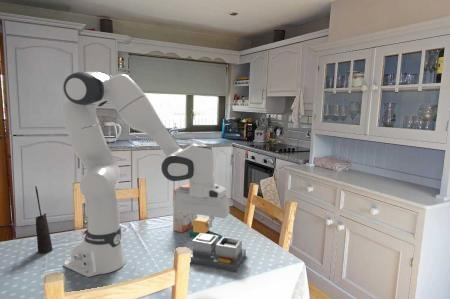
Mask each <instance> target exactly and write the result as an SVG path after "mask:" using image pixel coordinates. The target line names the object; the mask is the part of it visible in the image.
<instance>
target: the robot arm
mask: <svg viewBox="0 0 450 299" xmlns="http://www.w3.org/2000/svg"><path fill="white" fill-rule="evenodd" d="M62 86H63V87H62V88H63V93H64V96H65V98H67V99H66V100H65V101H63V103H62V105H61V115H62V119H63V124H64V127H65V130H66V133H67V136H68V138H69V141H70V143H71V146H72V149H73V151H74V154H75V155H76V156H77V157H78V159H79V160H80V161H81V162H82V164H83V165H84V166H83V167H84V168H85V171H86V172H84V173H83V175H82V177H81V179H80V182H79V190H80V193H81V195H82V196H83V199H84V204H85V208H86V213H87V214H86V215H87V228H86V230H84V231H82V234H81V235H82V236H83V235H84V238H83V239H82V240H81V241H79V242H78V243H77V244H75V245H74V246H73V247H72V249H71V252H70V257H68V258H66V260H65V261H64V263H63V266H64V267H65V268H67V269H70V270H72V271H74V272H76V273H78V274H80V275H83V276H84V277H87V278H89V277H93V276H96V275H97V276H98V275H103V274H104V275H105V274H109V273H111V272H114V271H115V272H116V271H118V270H119V269H121V268H122V267H123V266H124V265H125V263H126V259H125V257H124V256H125V255H124V253H123V248H122V242H121V240H122V229H121V228H122V227H121V226H120V207H119V205H118V200H117V193H116V192H117V191H116V189H117V188H116V187H117V185H118V184H119V182H120V180H121V175H122V174H121V169H120V167H119V165H118V163H117V162H116V159H115V157H114V155H113V153H112V152H111V150H110V148H109V146H108V144H107V143H108V142H107V141H106V139H105V135H104V132H103V130H102V127H101V124H100V121H99V119H98V116H97V108H98V107H102V106H104V105H105V104H107V103H110V105H112V106H113V108H114V109H115V111H116V112H117V113H118V115H119V116H120V118H121V119H122V120H123V121H124V123H125V124H127V125H128V126H129V127H130V128H131V129H132V130H135V131H138V132H141V133H144V134H146V135H147V136H149V137H150V138H151V139H152V140H153V141H154V143H155V144H156V145H157V146H158V147H159V148H160V150H161V151H162V153H163V154H164V155H165V158H164V159H163V161H162V163H161V165H160V166H161V172H162V175H163V176H164V178H166V179H167V180H168V181H171V182H179V181H185V180H188V184H189V187H181V186H179V187H176V188H177V189H176V188H175V189H176V201H175V209H176V211H177V212H184V213H189V218H190V219H191V221H192V225H193V221H194V220H195V218H194V214H197V216H198V215H199V216H204V217H208V218H209V219H210V221H208V222H207V223H206V225H207V226H206V227H209V228H210V229H211V228H212V227H213V222H214V219H216V218H221V219H225V218H227V217H228V216H229V215H230V200H229V198H228V196H227V195H226V194H228V190H227V188H226V187H224V186H223V185H219V184H217V183H215V179H214V171H215V157H214V151H213V149H212V148H211V147H210V146H209V145H208V144H204V143H200V142H199V143H198V142H197V143H196V142H194V143H191V144H190V145H189V146H187V147H185V148H184V147H183V146H181V145H180V144H179V143H178V142H177V141H176V139H175V138H174V136H173V135H172V133H171V132H170V131H169V130H168V129H167V127H166V126H165V125H164V124H163V122H162V120H161V118H160V116H159V115H158V114H157V112H156V110H155V107H154V106H153V105H152V103H151V101H150V100H149V98H148V97H147V95H146V94H145V93H144V91H143V90H142V89H141V87H140V86H139V85H138V84H137V83H136V82H135V80H133V79H132V78H131V77H130V76H129V75H127V74H124V73H120V74H116V75H113V76H112V75H111V74H108V73H106V72H102V71H97V70H96V71H93V70H89V71H78V72H73V73H71V74H70V75H68V76H67V77H66V78H65V80H64V82H63V85H62Z"/></svg>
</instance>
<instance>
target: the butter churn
mask: <svg viewBox="0 0 450 299" xmlns="http://www.w3.org/2000/svg"><path fill="white" fill-rule="evenodd" d="M34 188H35V194H36V199H37V204H38V212H39V215H38V216H35V234H36V239H37V240H36V242H37V253H38V252H39V253H38V254H47V253H50V252H51V251H53V249H54V248H53V243H52V238H51V233H50V228H49V223H48V218H47V213H46V212H45V213H44V214H42V209H41V204H40V199H39V198H40V197H39V192H38V191H39V190H38V188H37V185H35V186H34ZM50 250H51V251H50Z"/></svg>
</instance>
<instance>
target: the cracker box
mask: <svg viewBox="0 0 450 299" xmlns="http://www.w3.org/2000/svg"><path fill="white" fill-rule="evenodd" d="M180 187H189V183H186V184H184V185H182V186H180ZM177 188H178V187H176V188H175V189H173V195H172V196H173V198H172V200H173V205H172V206H173V207H172V208H173V210H172V211H173V215H172V219H173V220H172V225H173V227H172V228H173V229H172V231H174V232H178V233H185V231H187V230H189V229H190V228H193V225H192V221H191V219H190V218H189V213H184V212H177V211H176V209H175V201H176V189H177ZM194 218H195V219H197V218H198V214H194Z"/></svg>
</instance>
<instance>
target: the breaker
mask: <svg viewBox="0 0 450 299" xmlns="http://www.w3.org/2000/svg"><path fill="white" fill-rule="evenodd" d="M213 239H214V235H208V234H202V235H201V236H200V237H199V238H198V241H203V242H209V243H210V242H211V241H212V240H213Z"/></svg>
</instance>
